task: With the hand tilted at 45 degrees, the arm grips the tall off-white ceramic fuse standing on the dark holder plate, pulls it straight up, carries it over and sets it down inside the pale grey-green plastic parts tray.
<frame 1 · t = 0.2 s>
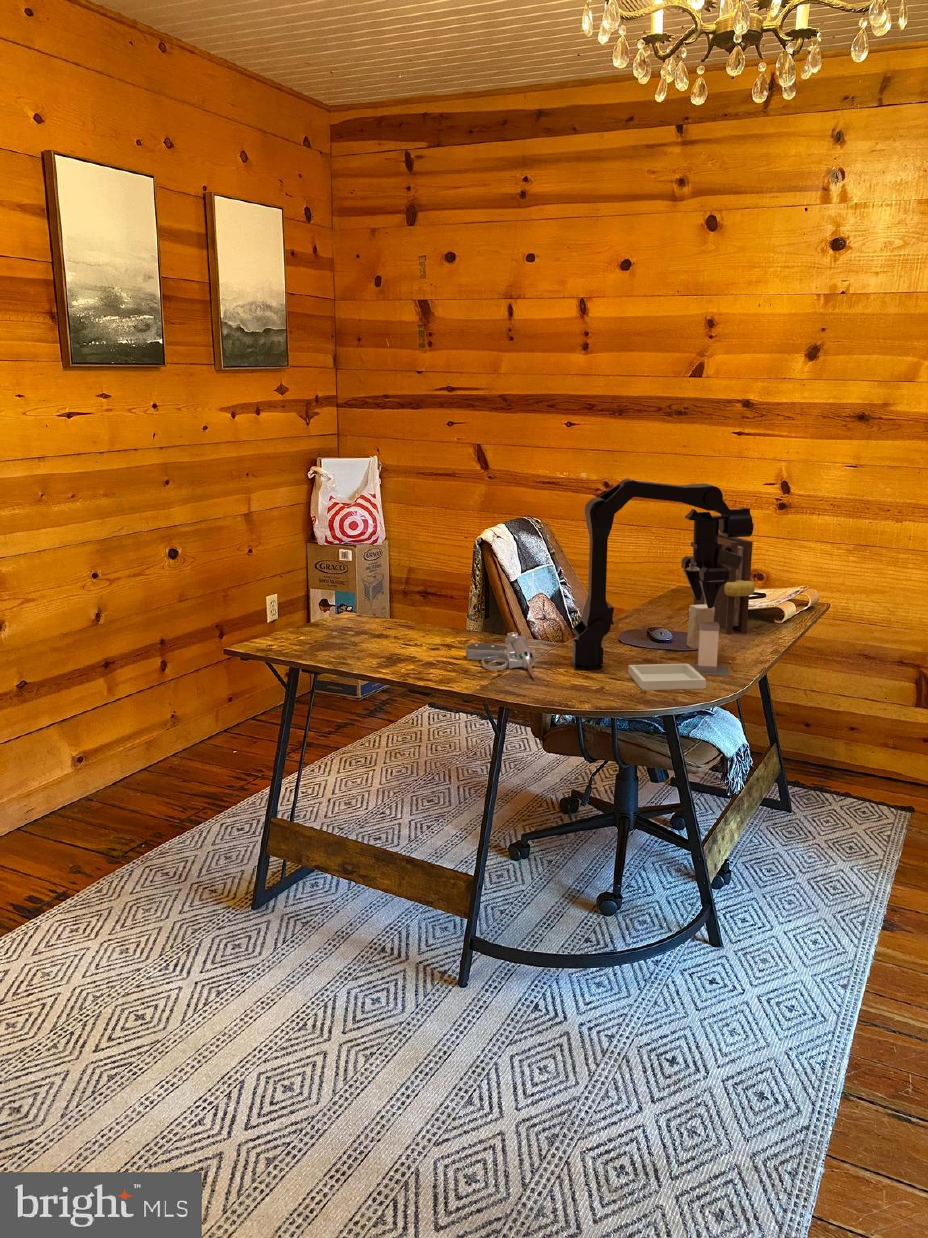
hand: (704, 603, 228), 15 cm above the table, tool pointing down, fingers open, 9 cm apart
parts tray: (665, 682, 216), on the table
box: (699, 649, 245), on the table
fuse: (706, 669, 224), resting on holder plate
holder plate: (706, 671, 224), on the table
toy pistol: (501, 667, 231), on the table
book: (720, 627, 268), on the table
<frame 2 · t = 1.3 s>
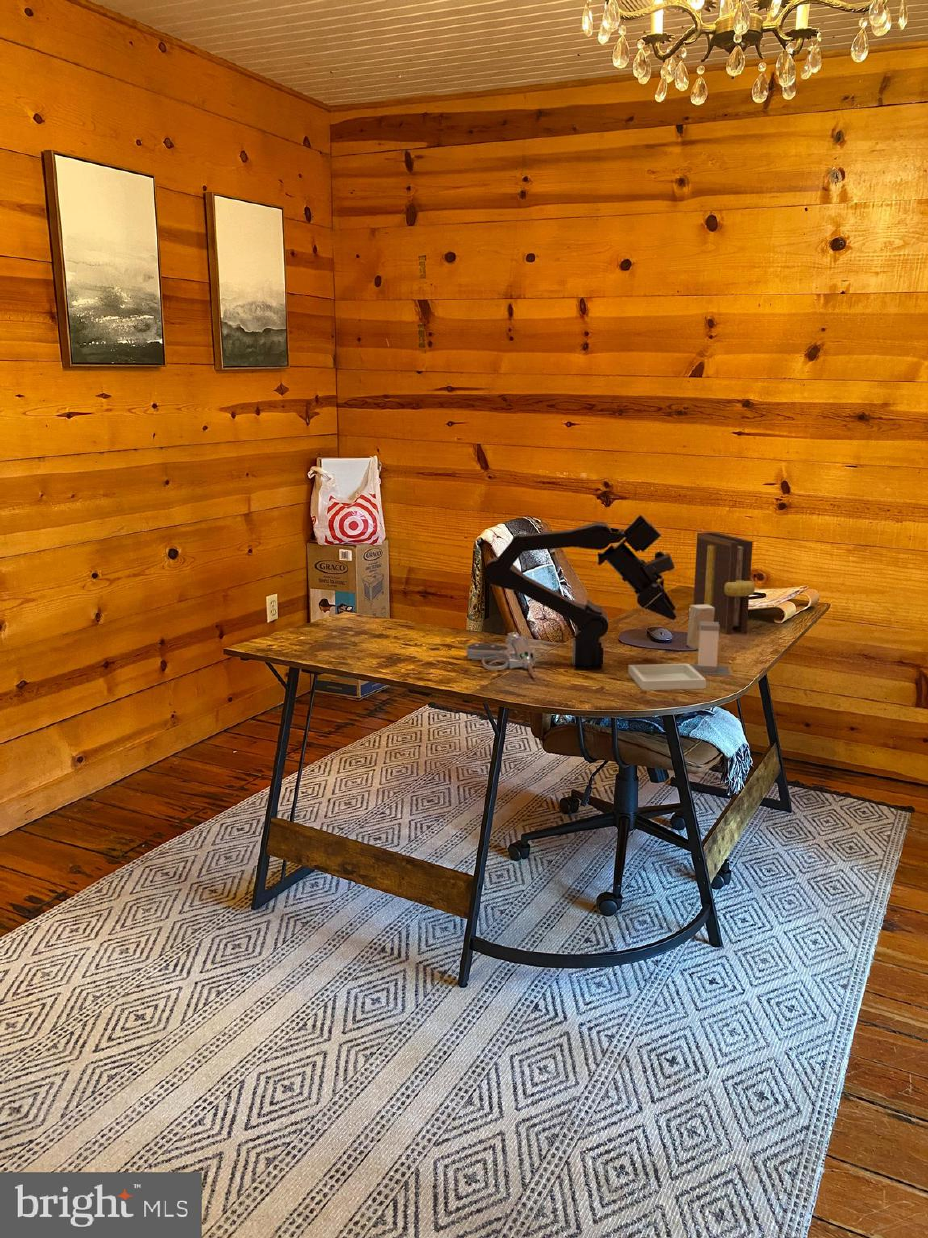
hand: (674, 614, 223), 13 cm above the table, tool tilted 45°, fingers open, 9 cm apart
nothing on the table moved.
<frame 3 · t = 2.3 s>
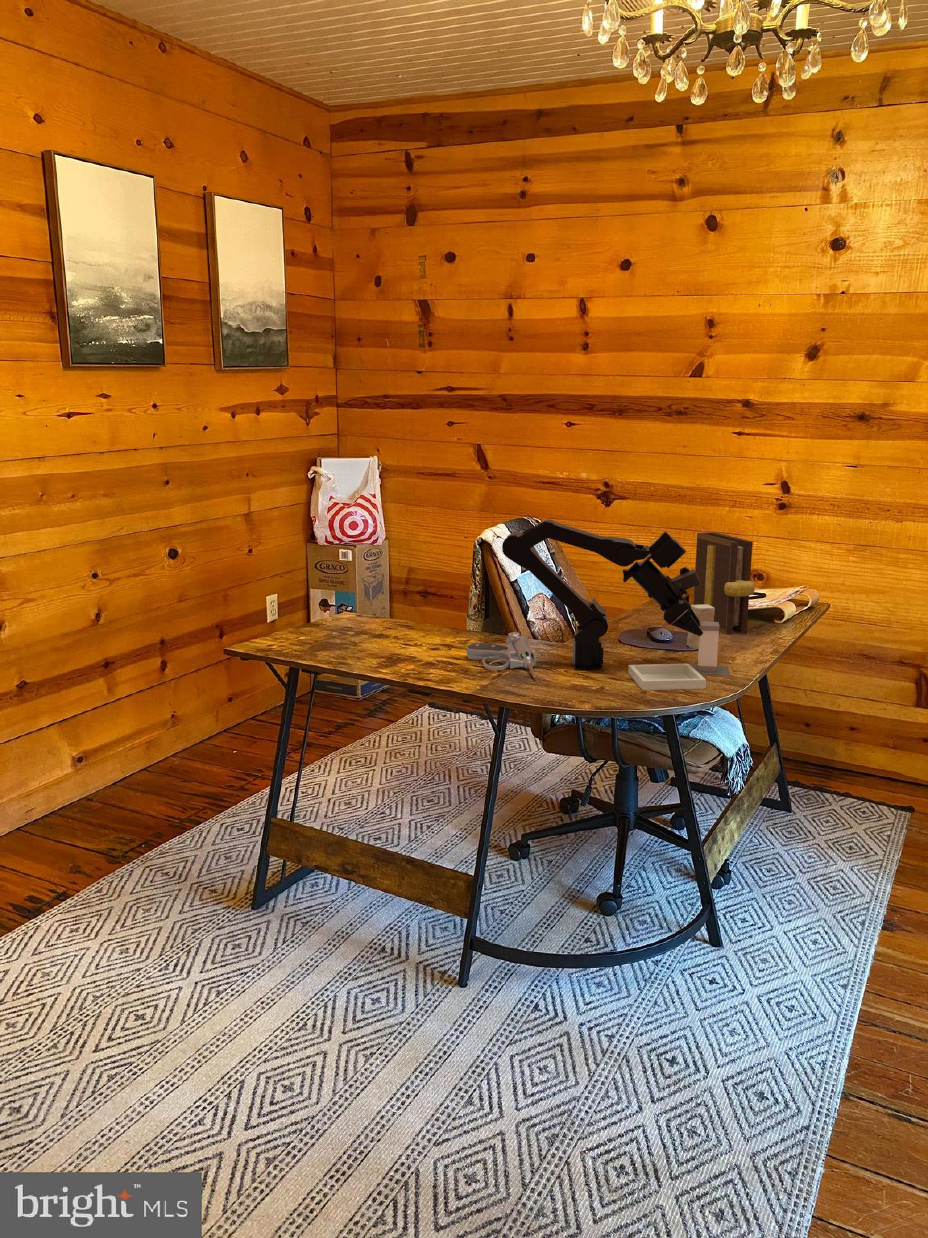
hand: (700, 630, 223), 10 cm above the table, tool tilted 45°, fingers open, 9 cm apart
nothing on the table moved.
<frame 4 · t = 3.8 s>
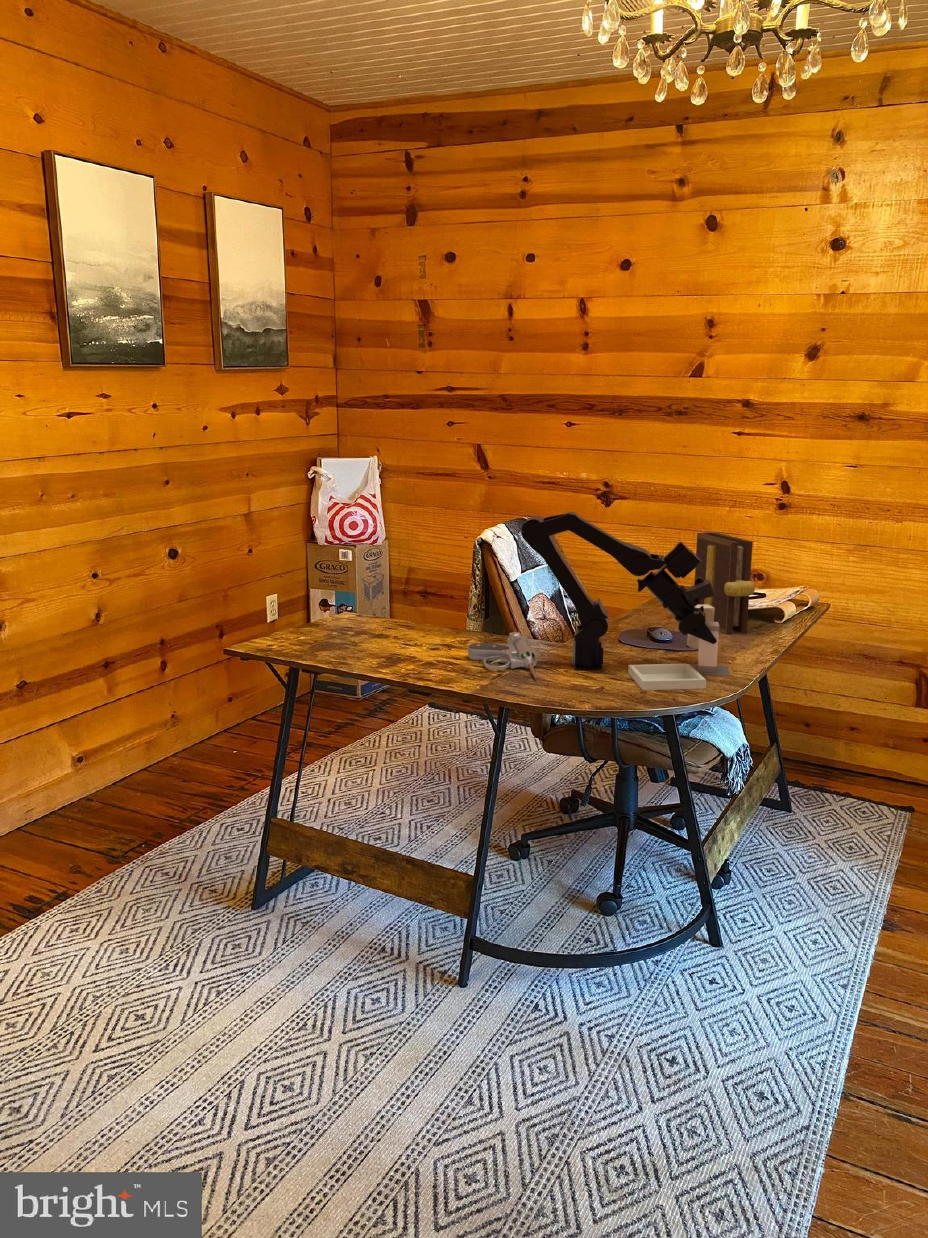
hand: (714, 640, 222), 8 cm above the table, tool tilted 45°, fingers closed on fuse, 4 cm apart
fuse: (706, 669, 224), resting on holder plate, touching gripper
everything else where it was.
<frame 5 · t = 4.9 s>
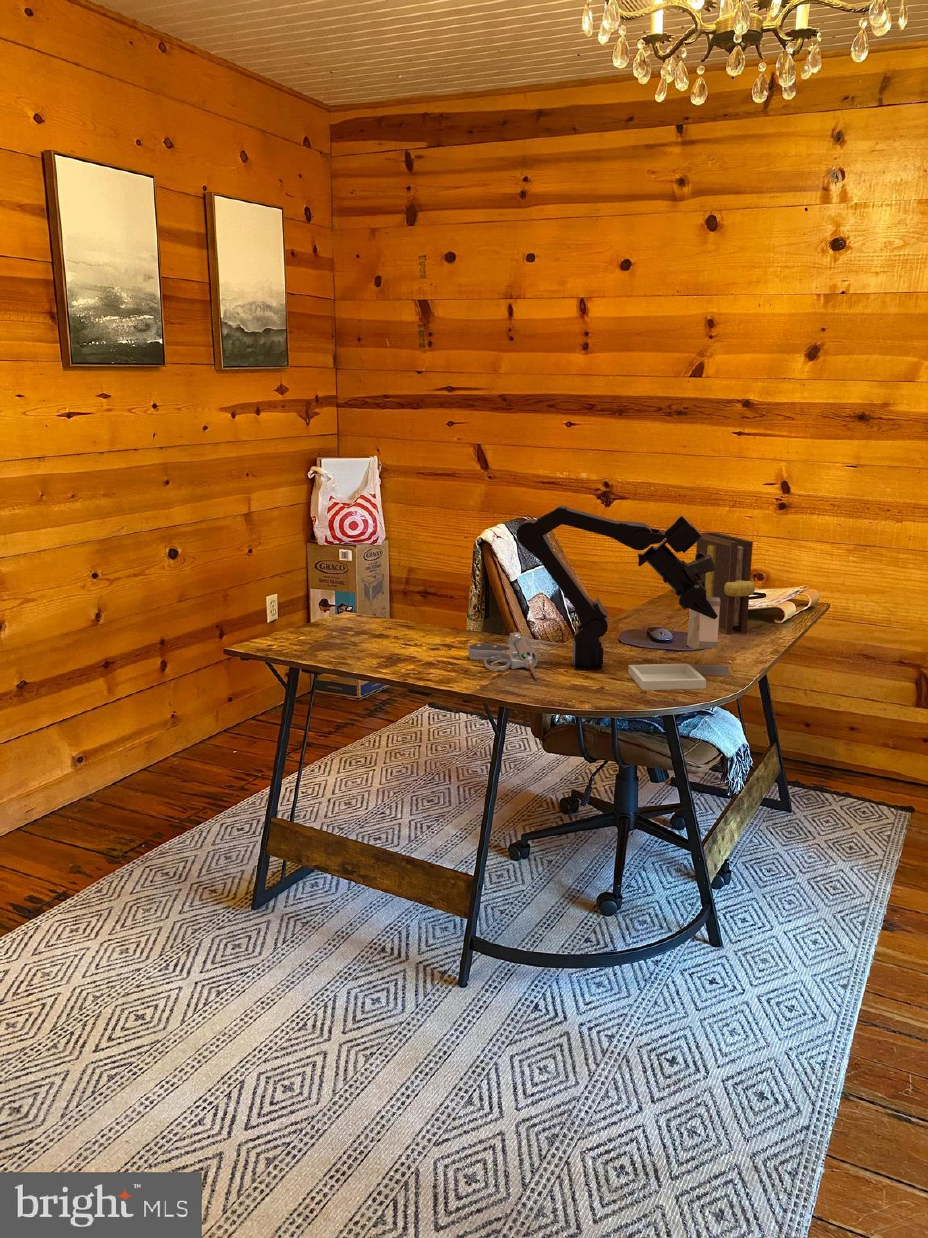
hand: (715, 615, 221), 13 cm above the table, tool tilted 45°, fingers closed on fuse, 4 cm apart
fuse: (707, 645, 223), point 6 cm above the table, touching gripper
everything else where it was.
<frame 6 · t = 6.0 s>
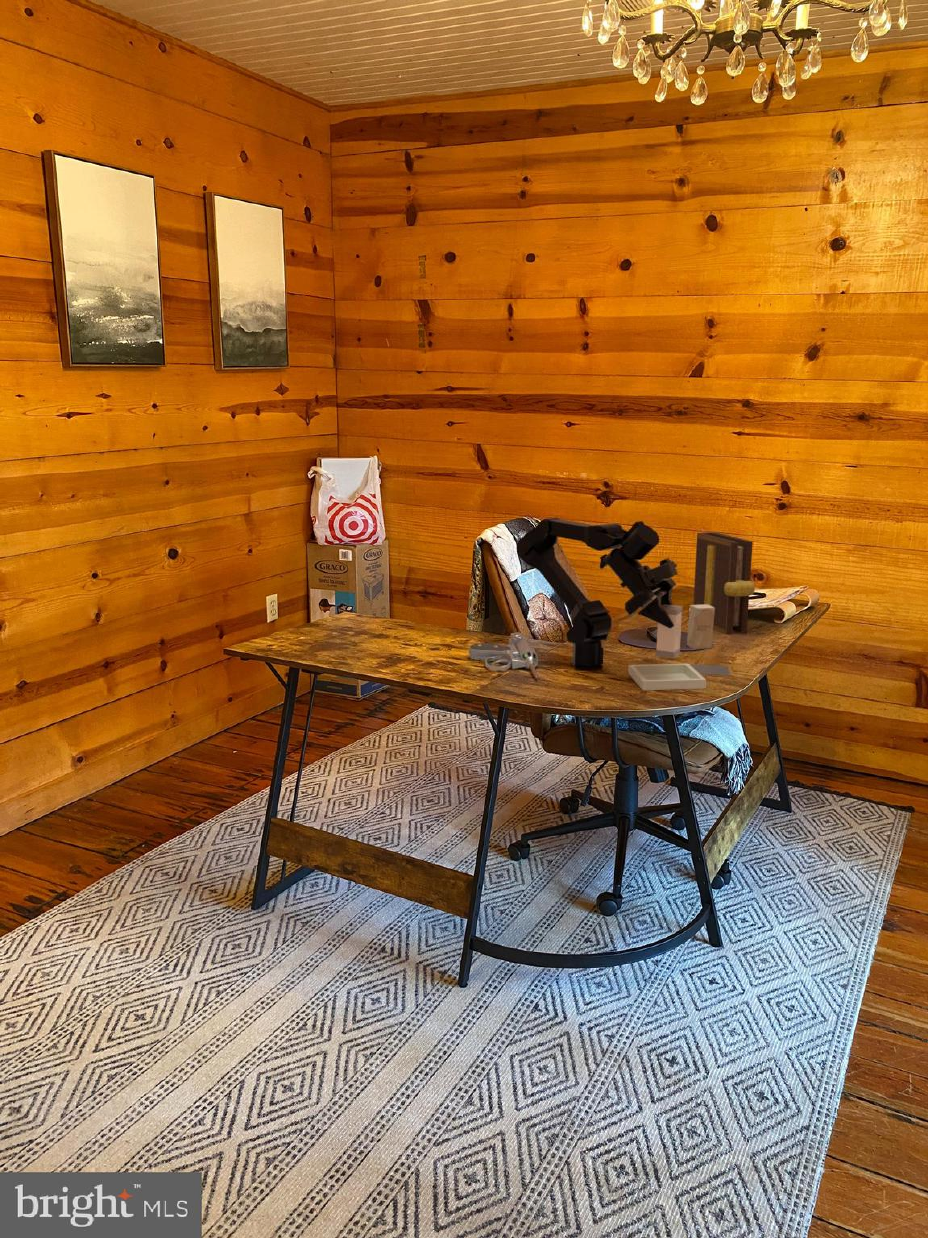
hand: (675, 625, 212), 13 cm above the table, tool tilted 45°, fingers closed on fuse, 4 cm apart
fuse: (667, 655, 215), point 6 cm above the table, touching gripper
everything else where it was.
when the fingers open (9 cm above the table, at t = 7.3 s): fuse drops 1 cm, resting on parts tray.
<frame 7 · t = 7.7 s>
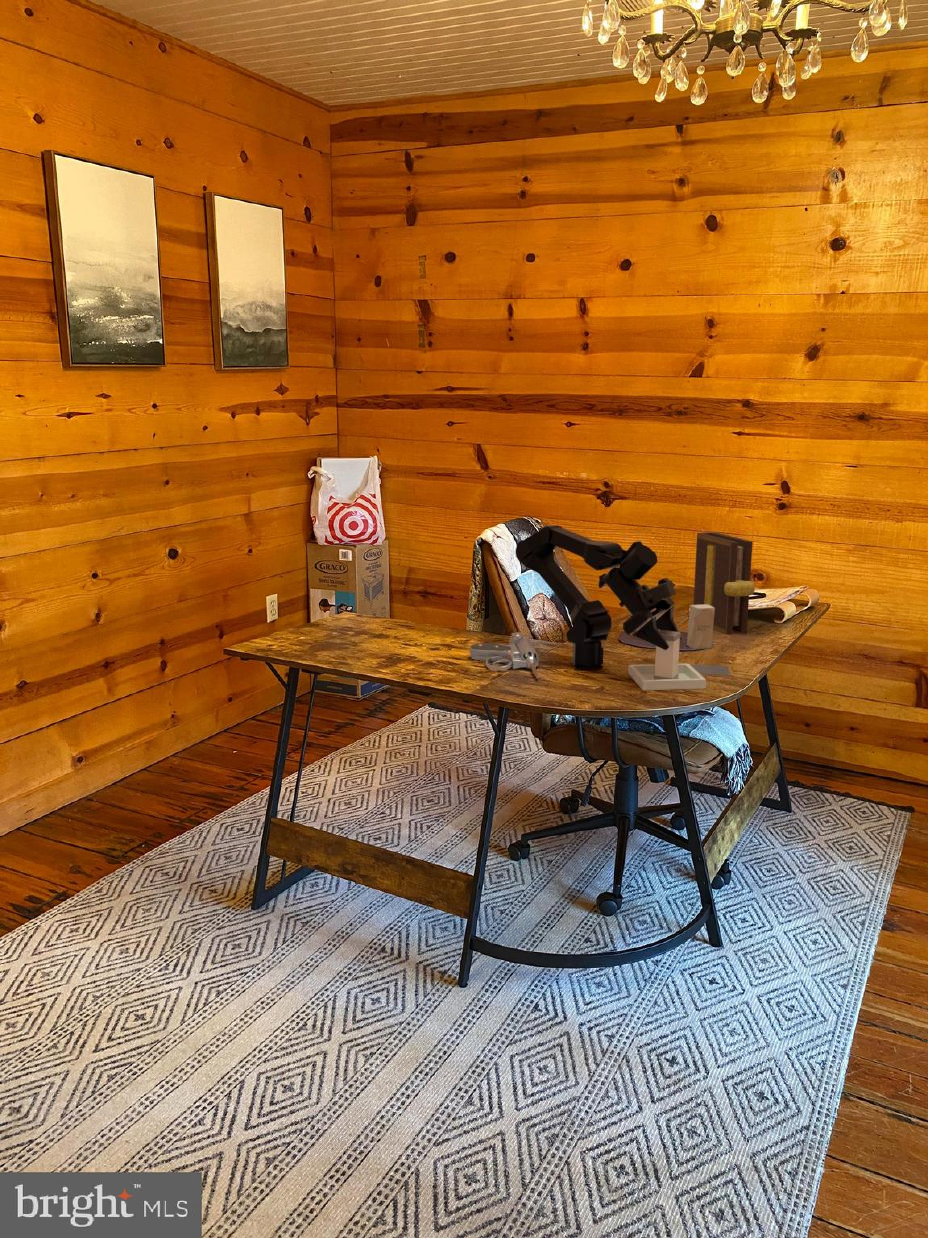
hand: (673, 644, 213), 9 cm above the table, tool tilted 45°, fingers open, 8 cm apart
fuse: (666, 680, 216), resting on parts tray
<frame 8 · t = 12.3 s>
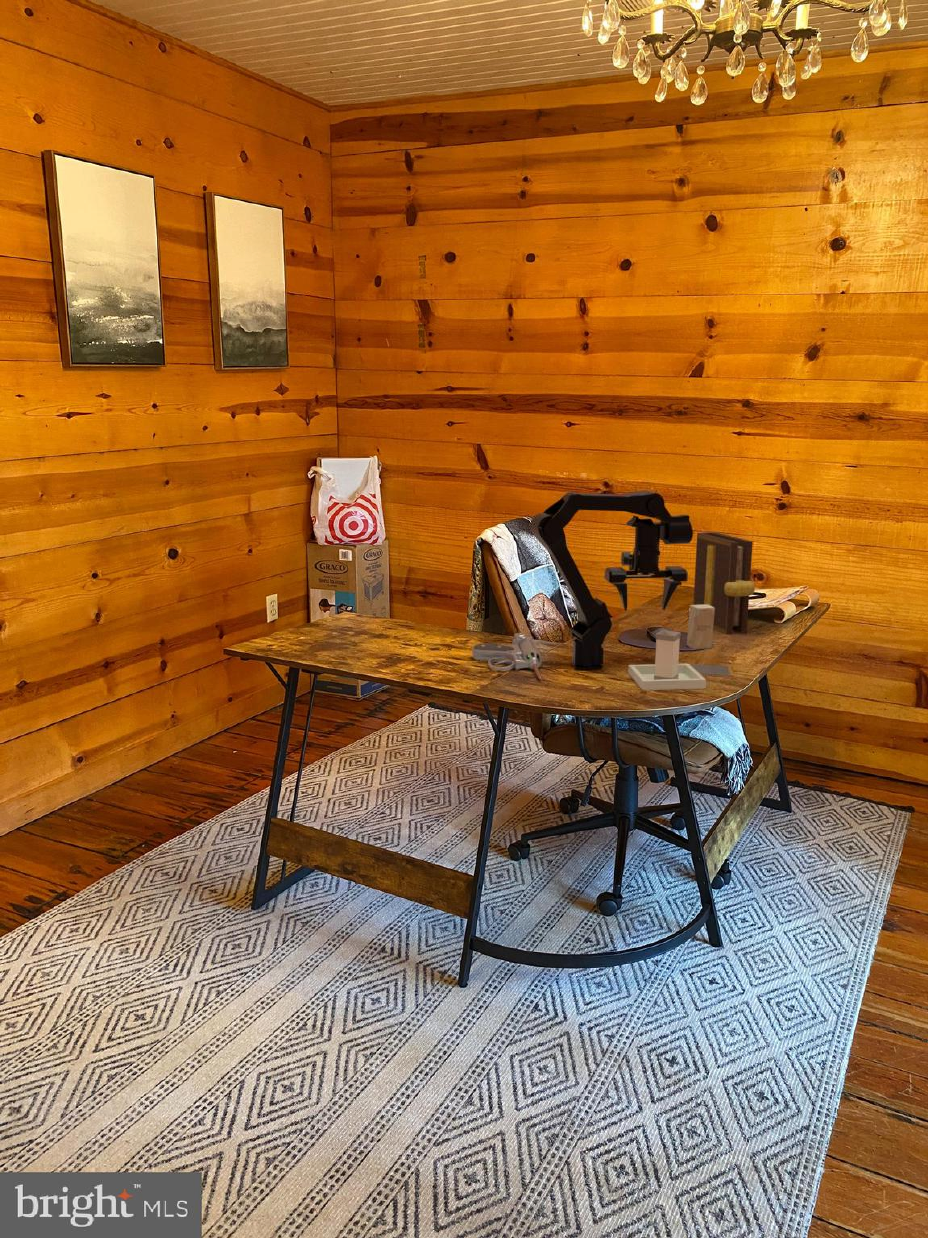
hand: (644, 609, 229), 13 cm above the table, tool pointing down, fingers open, 9 cm apart
at the end: fuse inside the target area on the parts tray (0.0 cm from its centre), point 0.5 cm above the parts tray's base; the gripper is holding nothing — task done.
